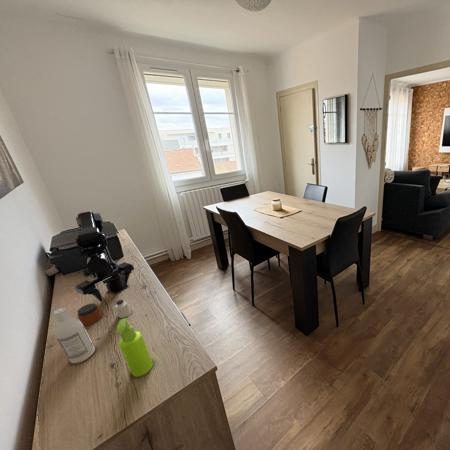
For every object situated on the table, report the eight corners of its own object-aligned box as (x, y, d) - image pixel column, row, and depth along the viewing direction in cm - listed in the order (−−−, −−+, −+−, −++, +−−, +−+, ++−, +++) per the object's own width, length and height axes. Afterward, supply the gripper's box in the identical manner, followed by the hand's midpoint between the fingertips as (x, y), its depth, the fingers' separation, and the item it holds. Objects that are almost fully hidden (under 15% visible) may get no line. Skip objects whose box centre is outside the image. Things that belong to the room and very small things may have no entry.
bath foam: (81, 347, 88) (57, 304, 81) (100, 346, 88) (78, 302, 81) (64, 364, 82) (37, 319, 74) (85, 363, 82) (60, 317, 74)
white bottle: (126, 309, 106) (121, 297, 104) (133, 312, 105) (128, 299, 102) (116, 316, 103) (110, 303, 100) (123, 319, 101) (117, 305, 98)
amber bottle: (96, 312, 106) (91, 301, 104) (105, 315, 103) (100, 304, 101) (78, 322, 100) (72, 311, 98) (87, 327, 98) (81, 315, 96)
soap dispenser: (129, 382, 74) (106, 334, 67) (134, 364, 80) (113, 317, 73) (151, 374, 76) (131, 326, 69) (153, 357, 82) (135, 311, 75)
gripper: (112, 248, 105) (124, 278, 110) (59, 270, 89) (76, 304, 95) (128, 252, 100) (140, 283, 106) (75, 276, 85) (92, 311, 90)
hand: (113, 294), depth 99 cm, fingers open, 9 cm apart
